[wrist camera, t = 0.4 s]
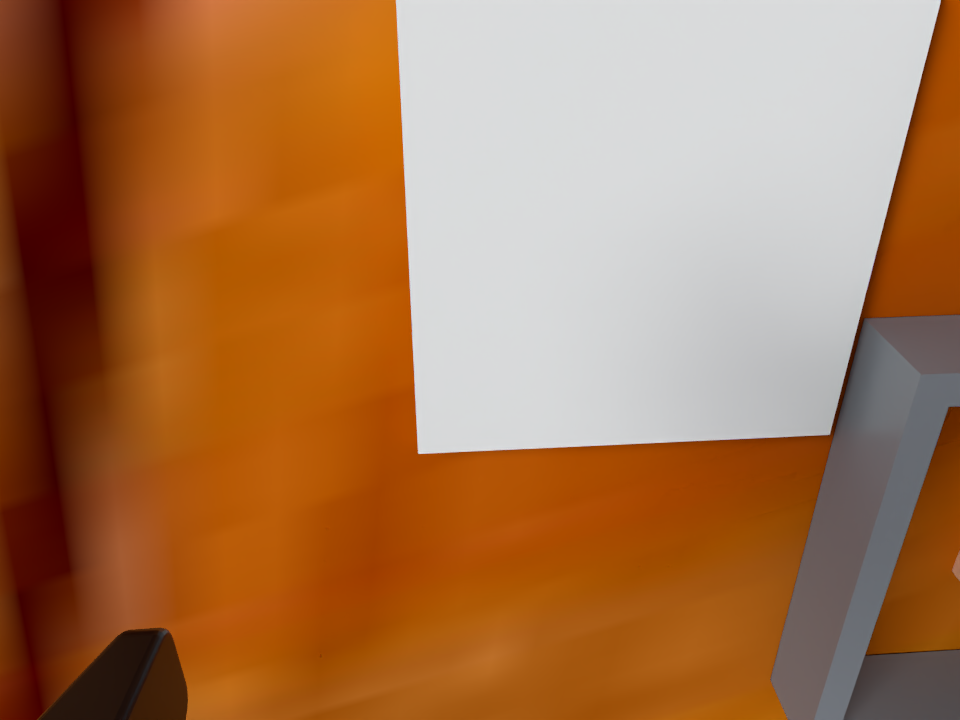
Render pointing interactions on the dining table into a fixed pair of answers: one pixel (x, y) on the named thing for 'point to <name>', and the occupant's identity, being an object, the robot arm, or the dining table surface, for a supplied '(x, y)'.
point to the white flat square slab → (645, 211)
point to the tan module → (957, 567)
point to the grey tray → (871, 534)
